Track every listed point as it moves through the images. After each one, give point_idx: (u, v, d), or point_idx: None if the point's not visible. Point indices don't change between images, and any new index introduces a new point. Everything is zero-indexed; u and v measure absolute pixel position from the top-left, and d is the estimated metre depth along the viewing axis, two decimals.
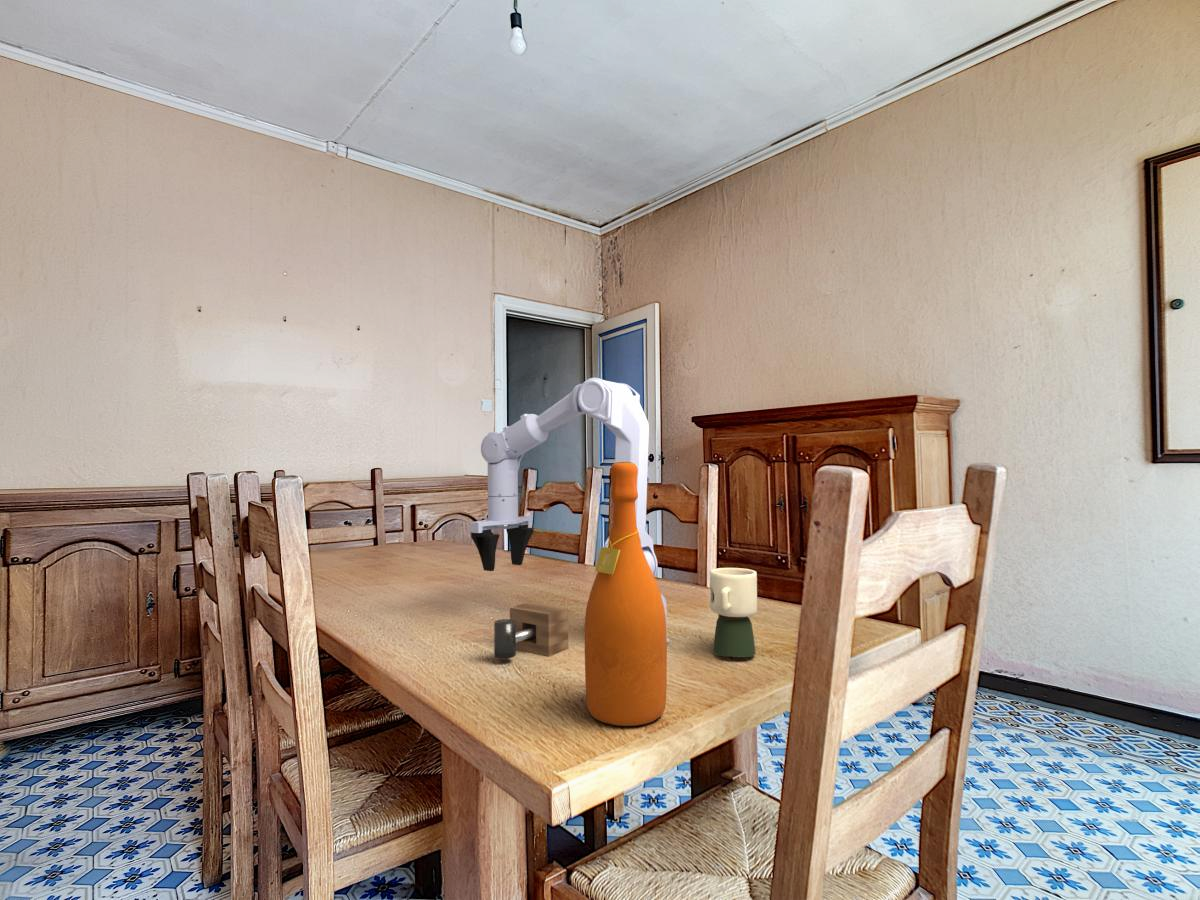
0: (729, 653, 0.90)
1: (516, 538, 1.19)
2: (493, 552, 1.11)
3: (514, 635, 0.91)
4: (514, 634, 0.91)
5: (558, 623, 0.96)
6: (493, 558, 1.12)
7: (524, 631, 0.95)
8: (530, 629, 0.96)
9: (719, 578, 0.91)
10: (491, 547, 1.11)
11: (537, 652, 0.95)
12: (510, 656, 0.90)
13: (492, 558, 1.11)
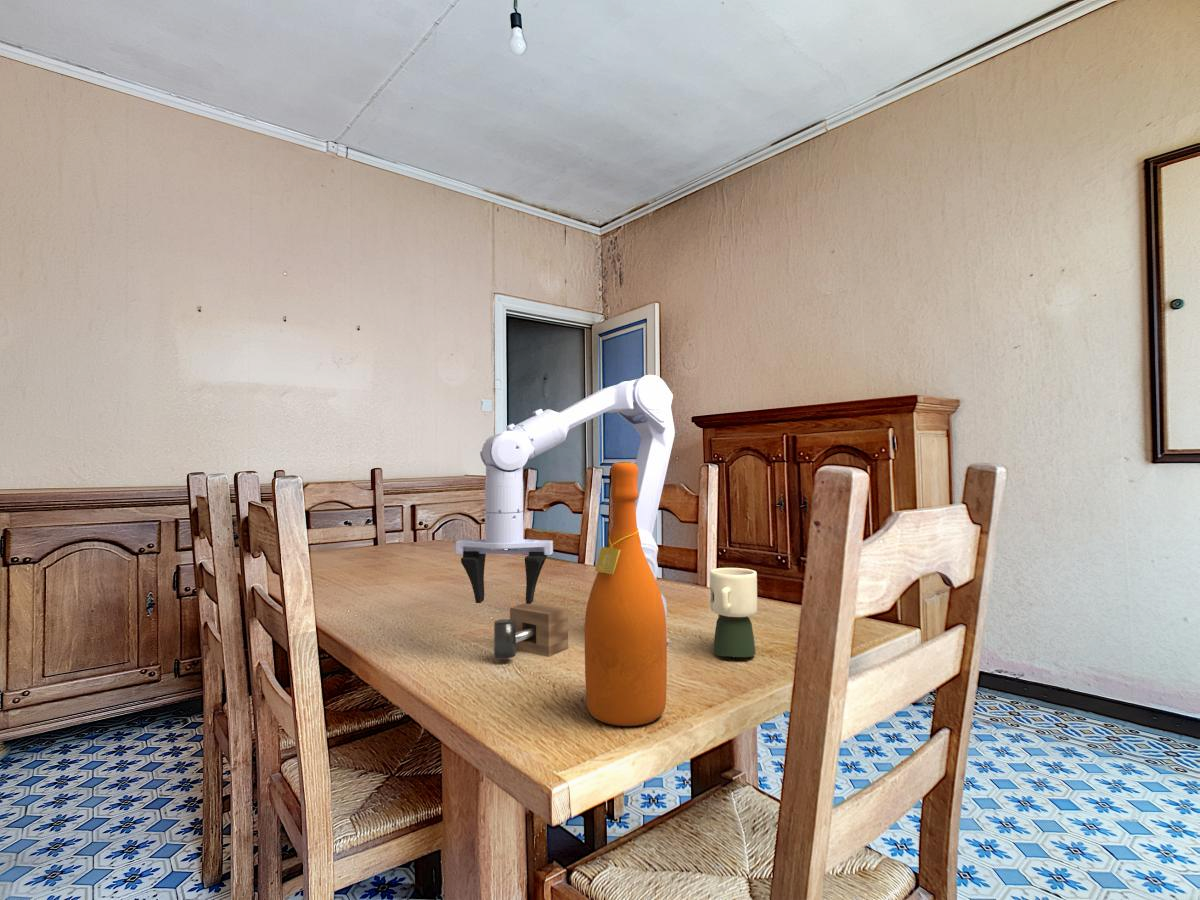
0: (729, 653, 0.90)
1: None
2: (474, 580, 0.90)
3: (514, 635, 0.91)
4: (514, 634, 0.91)
5: (558, 623, 0.96)
6: (476, 587, 0.90)
7: (524, 631, 0.95)
8: (530, 629, 0.96)
9: (719, 578, 0.91)
10: (468, 574, 0.90)
11: (537, 652, 0.95)
12: (510, 656, 0.90)
13: (474, 587, 0.91)
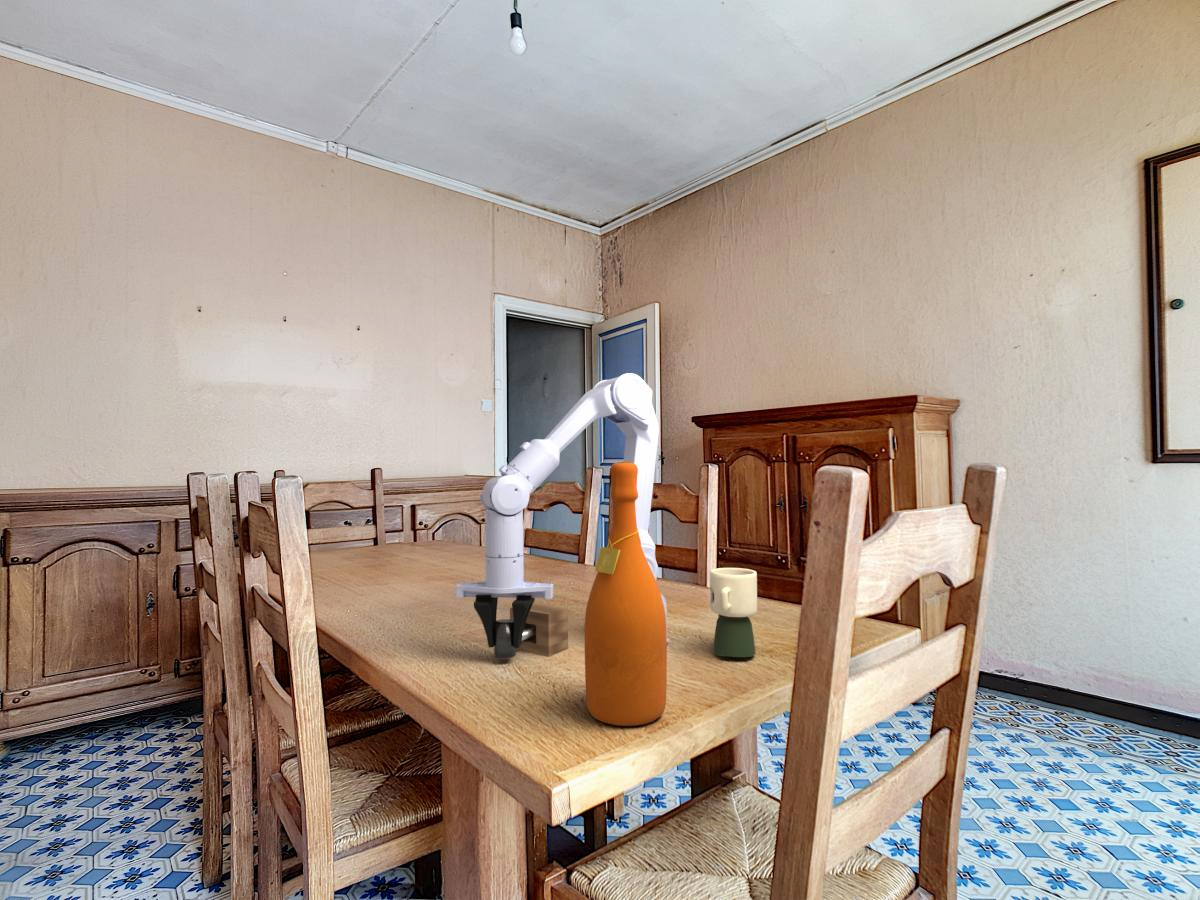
0: (729, 653, 0.90)
1: None
2: (486, 625, 0.90)
3: None
4: None
5: (558, 623, 0.96)
6: (489, 632, 0.90)
7: (524, 631, 0.95)
8: (530, 629, 0.96)
9: (719, 578, 0.91)
10: (481, 618, 0.90)
11: (537, 652, 0.95)
12: (510, 656, 0.90)
13: (486, 632, 0.90)
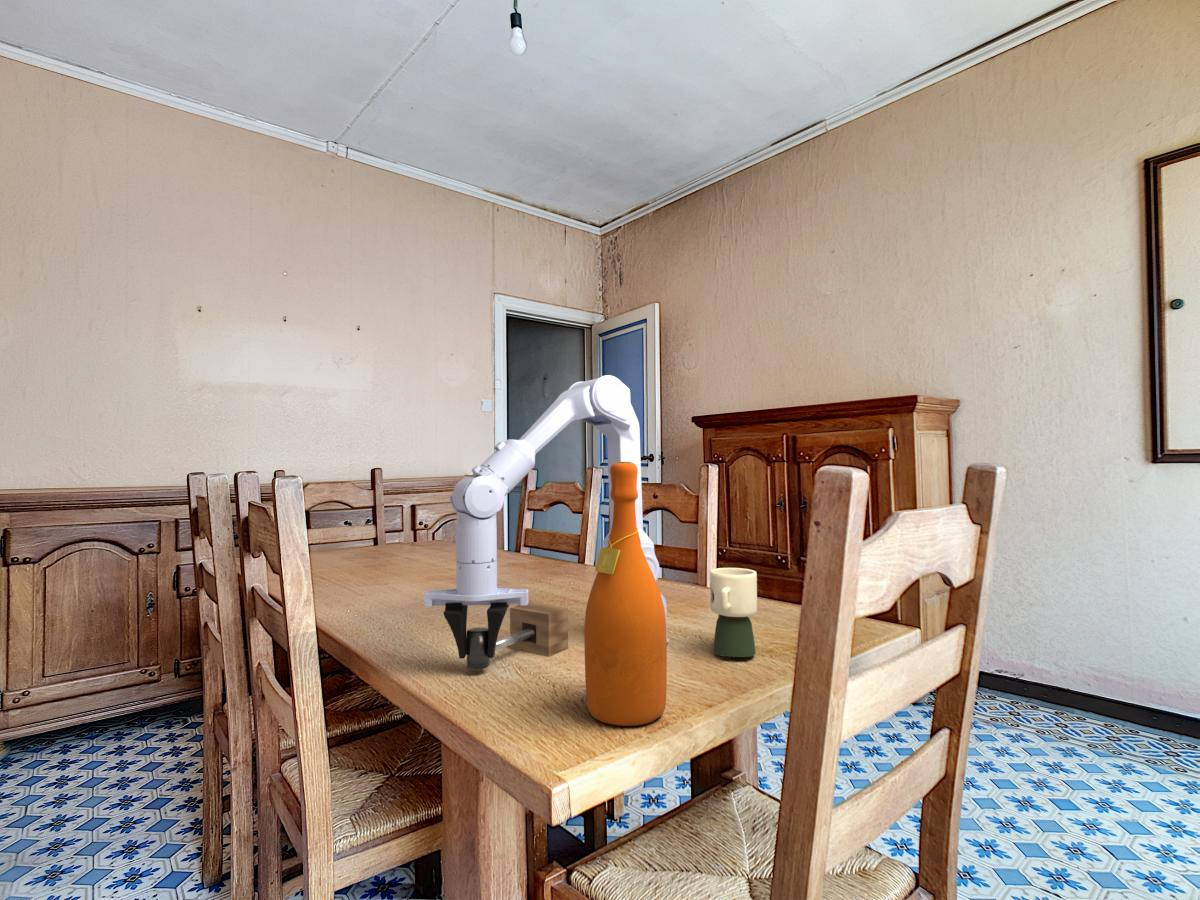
0: (729, 653, 0.90)
1: None
2: (457, 634, 0.85)
3: None
4: None
5: (558, 623, 0.96)
6: (460, 642, 0.85)
7: (499, 640, 0.90)
8: (506, 637, 0.91)
9: (719, 578, 0.91)
10: (452, 628, 0.85)
11: (537, 652, 0.95)
12: (483, 667, 0.86)
13: (457, 642, 0.85)
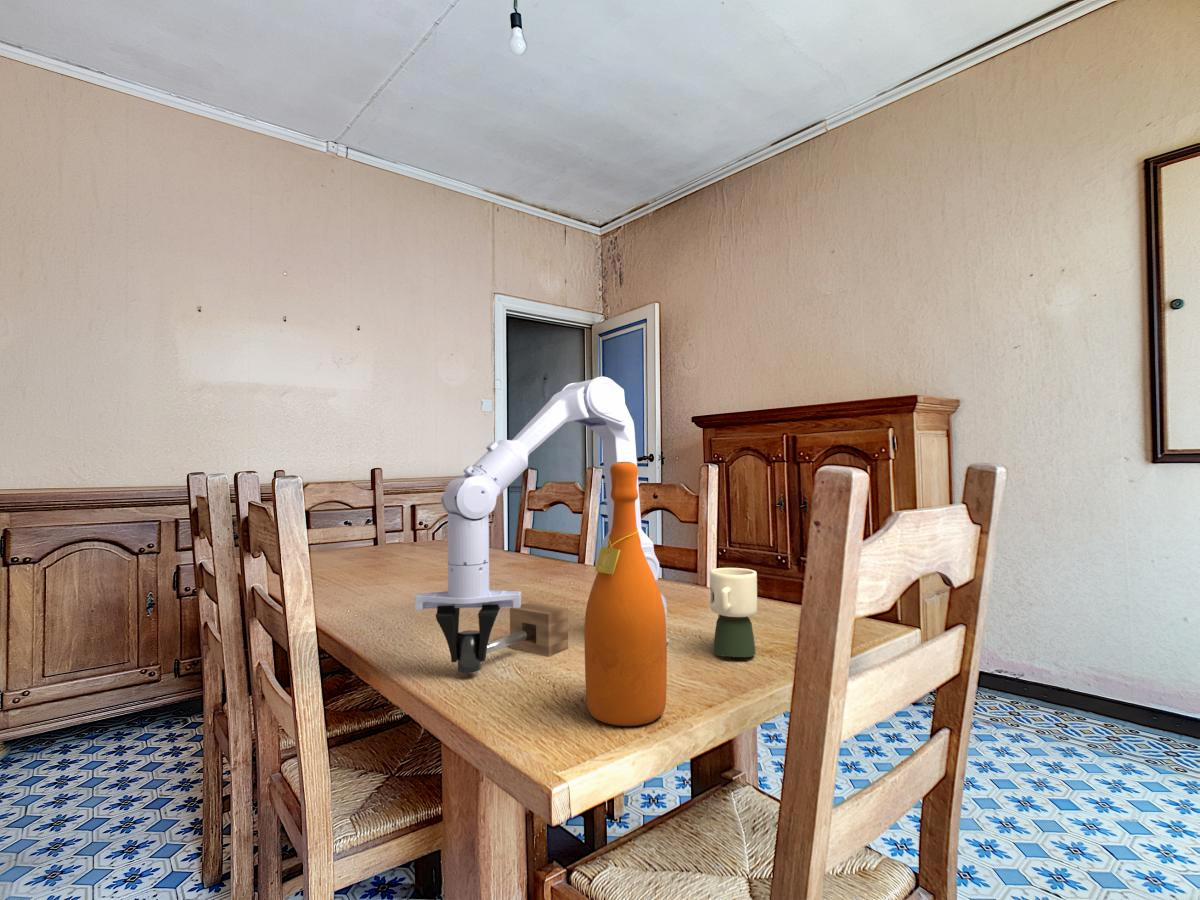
0: (729, 653, 0.90)
1: None
2: (450, 638, 0.83)
3: None
4: None
5: (558, 623, 0.96)
6: (452, 645, 0.84)
7: (491, 643, 0.89)
8: (498, 640, 0.90)
9: (719, 578, 0.91)
10: (444, 631, 0.83)
11: (537, 652, 0.95)
12: (474, 670, 0.84)
13: (450, 645, 0.84)
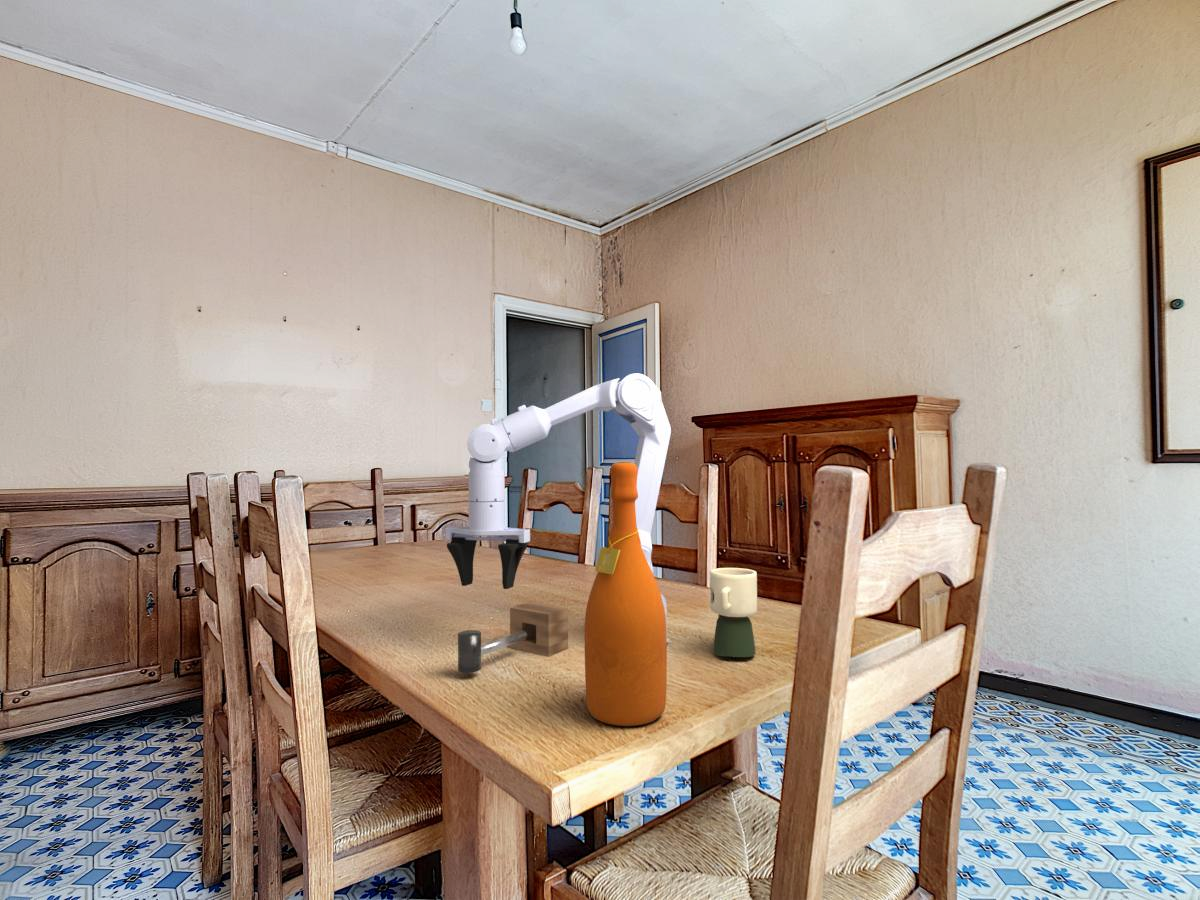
0: (729, 653, 0.90)
1: None
2: (458, 564, 0.97)
3: (479, 648, 0.85)
4: (479, 646, 0.85)
5: (558, 623, 0.96)
6: (460, 571, 0.97)
7: (491, 643, 0.89)
8: (498, 640, 0.90)
9: (719, 578, 0.91)
10: (454, 558, 0.97)
11: (537, 652, 0.95)
12: (474, 670, 0.84)
13: (459, 571, 0.97)
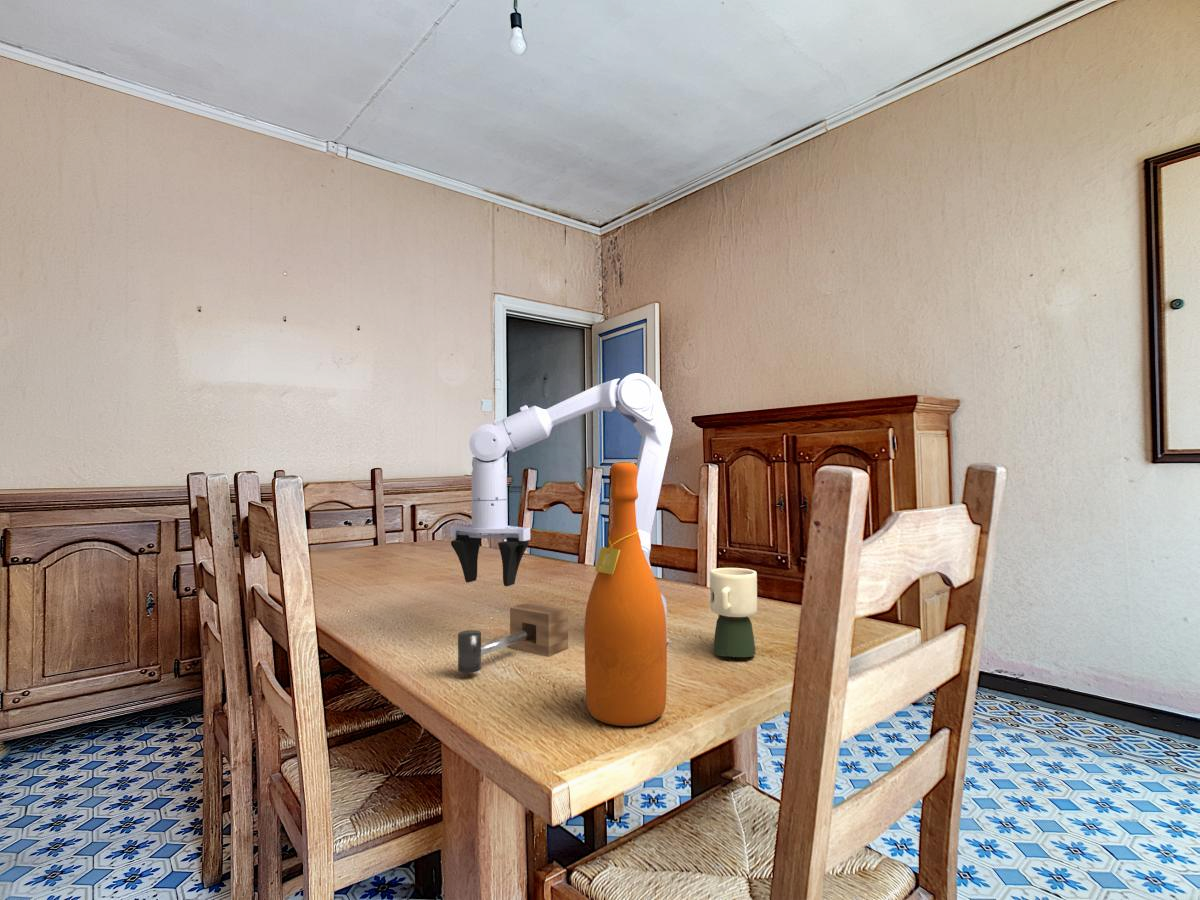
0: (729, 653, 0.90)
1: None
2: (462, 561, 0.99)
3: (479, 648, 0.85)
4: (479, 646, 0.85)
5: (558, 623, 0.96)
6: (464, 567, 0.99)
7: (491, 643, 0.89)
8: (498, 640, 0.90)
9: (719, 578, 0.91)
10: (458, 555, 0.99)
11: (537, 652, 0.95)
12: (474, 670, 0.84)
13: (462, 568, 0.99)
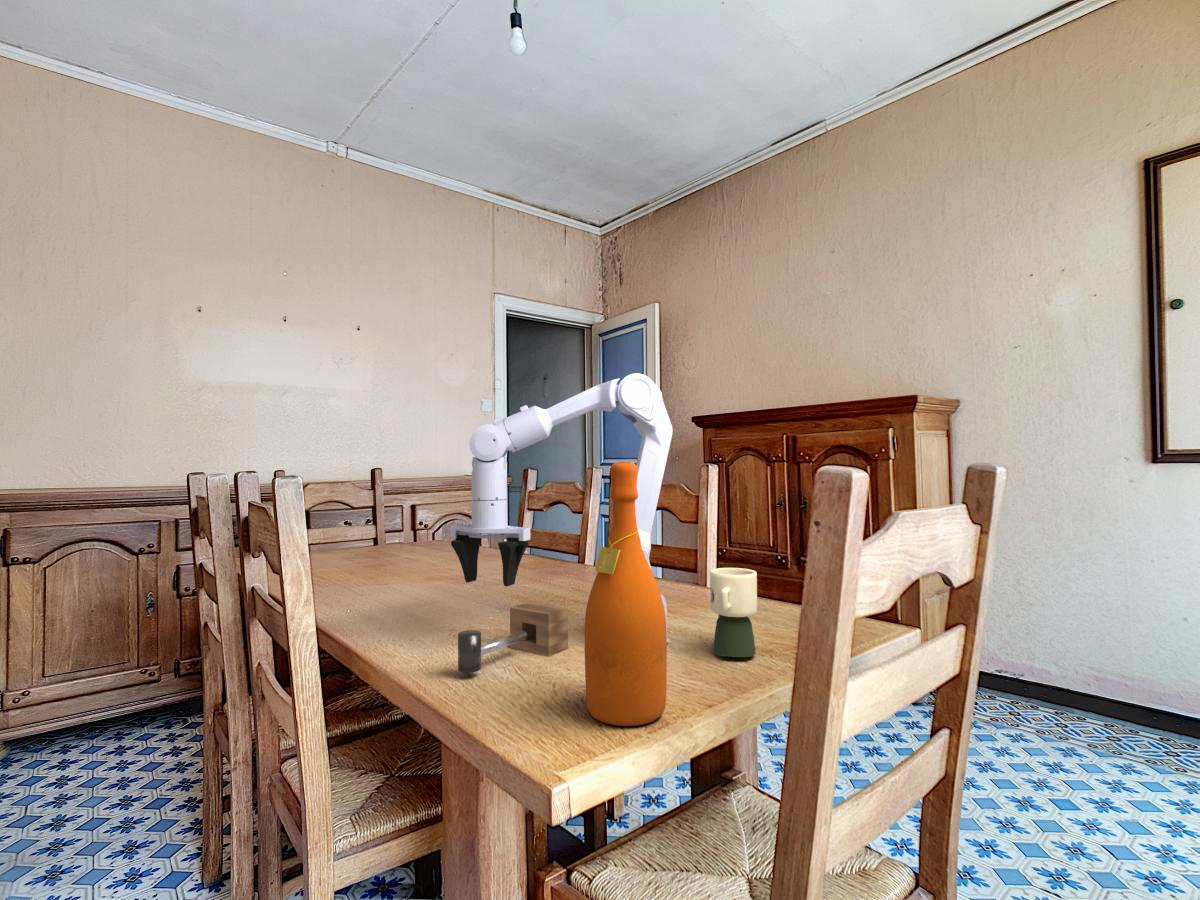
0: (729, 653, 0.90)
1: None
2: (462, 561, 0.99)
3: (479, 648, 0.85)
4: (479, 646, 0.85)
5: (558, 623, 0.96)
6: (464, 567, 0.99)
7: (491, 643, 0.89)
8: (498, 640, 0.90)
9: (719, 578, 0.91)
10: (458, 555, 0.99)
11: (537, 652, 0.95)
12: (474, 670, 0.84)
13: (462, 568, 0.99)
